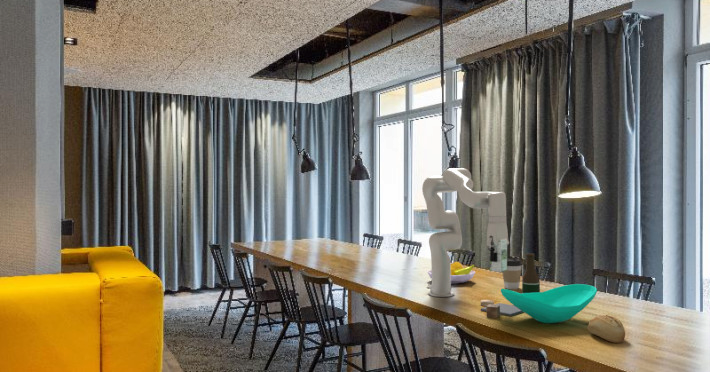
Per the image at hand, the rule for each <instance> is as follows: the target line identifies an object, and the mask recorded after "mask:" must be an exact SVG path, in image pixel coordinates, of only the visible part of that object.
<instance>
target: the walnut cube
mask: <svg viewBox="0 0 710 372" xmlns="http://www.w3.org/2000/svg"><path fill="white" fill-rule="evenodd" d="M485 307H486V311H487V312H486V318H494V319H498V318H499V317H500V316H501V314H500V305H495V304H494V305H492V304H489V305H488V306H485Z"/></svg>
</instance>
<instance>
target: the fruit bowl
mask: <svg viewBox="0 0 710 372" xmlns="http://www.w3.org/2000/svg"><path fill="white" fill-rule="evenodd" d="M450 264H451V285H453V284H454V285H456V284H457V285H458V284H464V283H466V282H468V281H470V280H472V279H473V277H474V275H475V273H476V271H475V270H473V269H474V267H475V265H474V264H472V265H471V266H467V267H464V266H463V264H462V263H460V262H459V261H454V262H453V263H450ZM426 272H427V274H428V276H429V278H430V279H432V269H430V270H427V271H426Z"/></svg>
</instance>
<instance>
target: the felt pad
mask: <svg viewBox="0 0 710 372" xmlns="http://www.w3.org/2000/svg"><path fill="white" fill-rule="evenodd" d="M494 305H500V316H507V317H513V316H516V315H519V314H522V313H524V312H523V311H522V310H520V309H519V308H517V307H516V306H514V305H513V304H507V303H501V302H499V303H494ZM480 311H481V312H486V313H487V311H486V306H483V307H481V308H480Z"/></svg>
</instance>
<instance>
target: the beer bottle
mask: <svg viewBox="0 0 710 372" xmlns="http://www.w3.org/2000/svg"><path fill="white" fill-rule="evenodd" d="M525 256H526V267H525V268H526V269H525V271H524V273H523V275H522V279H521V286H522V288H521V291H522V292H521V293H536V292H541V285H540V284H541V280H540V277H539V275H538V273H537V271H536V264H535V257H536V255H535V253H533V252H532V253H531V252H528V253H526V254H525Z"/></svg>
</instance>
